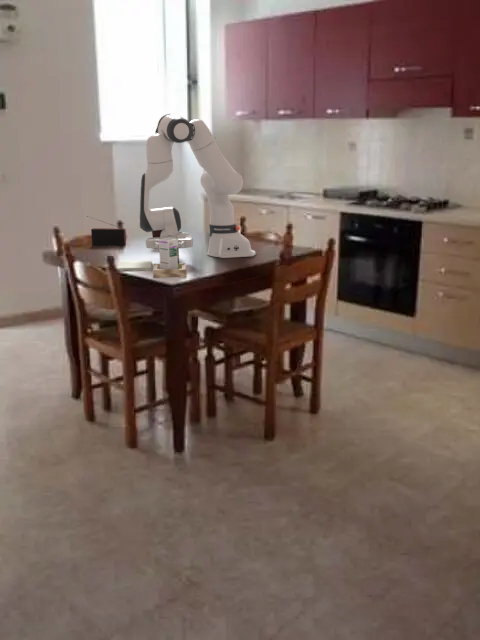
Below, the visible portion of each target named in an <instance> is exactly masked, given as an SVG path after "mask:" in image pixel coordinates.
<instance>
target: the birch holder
mask: <svg viewBox="0 0 480 640" xmlns="http://www.w3.org/2000/svg"><path fill="white" fill-rule="evenodd" d="M186 267H187V266H186V263H185V262H179V269H160V263H153V268H152V270H153V275H152V276H153V278H185V277H187V274H186V273H187V270H186V269H187V268H186Z"/></svg>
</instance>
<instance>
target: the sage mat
mask: <svg viewBox="0 0 480 640" xmlns="http://www.w3.org/2000/svg"><path fill="white" fill-rule="evenodd" d="M152 266H153V261H152V260H141V261H140V260H138V261H134V260H133V261H131V260H130V261H119V262H118V265H117V268H116V270H117V269H118V270H121V271H120V272H124V271H123V270H138V271H152Z"/></svg>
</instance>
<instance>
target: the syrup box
mask: <svg viewBox="0 0 480 640" xmlns="http://www.w3.org/2000/svg"><path fill="white" fill-rule="evenodd" d="M179 250H180V249H179V246H178V239H176V238H166V239H160V240H159V248H158V252H159V264H160V269H179V263H180V251H179Z"/></svg>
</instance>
